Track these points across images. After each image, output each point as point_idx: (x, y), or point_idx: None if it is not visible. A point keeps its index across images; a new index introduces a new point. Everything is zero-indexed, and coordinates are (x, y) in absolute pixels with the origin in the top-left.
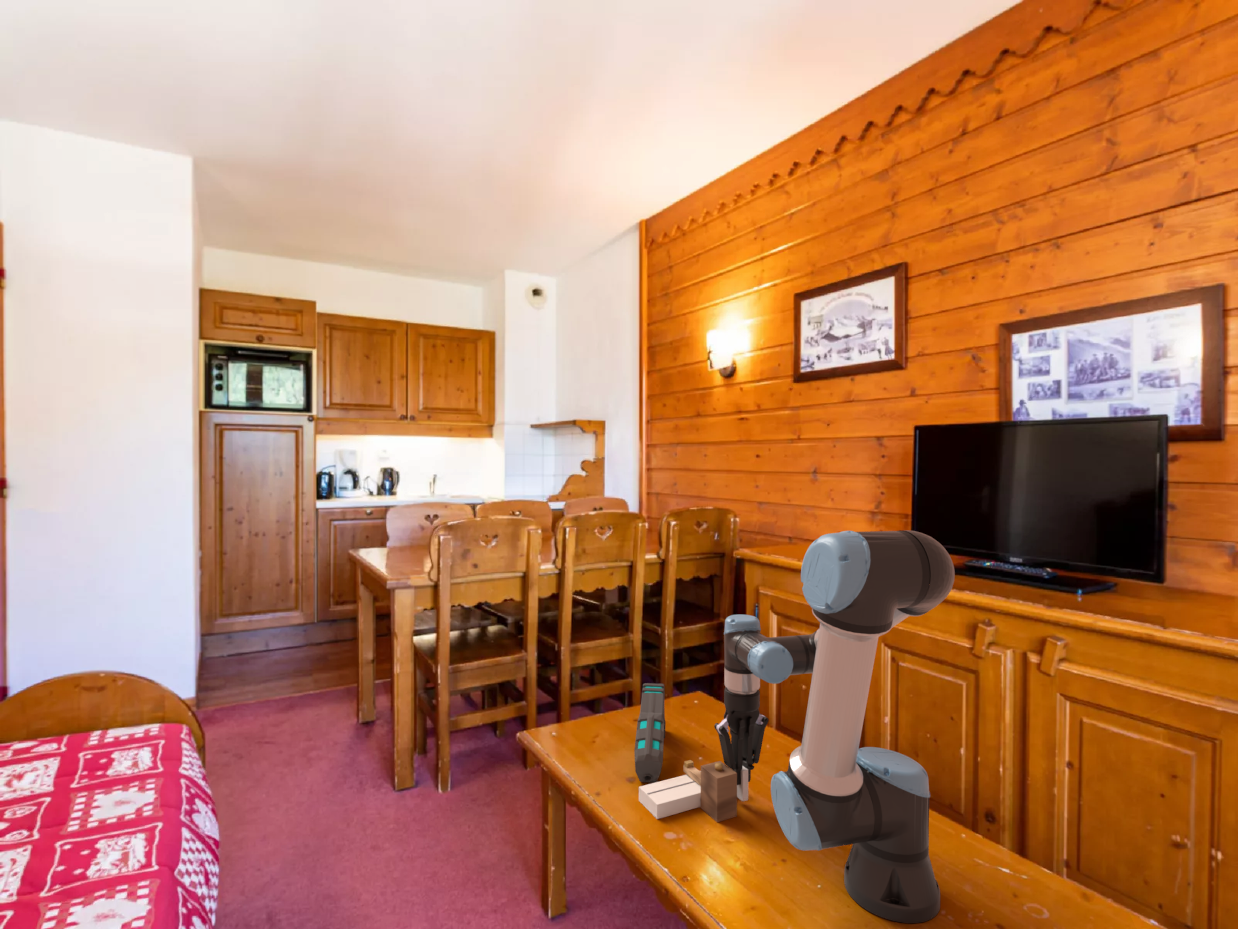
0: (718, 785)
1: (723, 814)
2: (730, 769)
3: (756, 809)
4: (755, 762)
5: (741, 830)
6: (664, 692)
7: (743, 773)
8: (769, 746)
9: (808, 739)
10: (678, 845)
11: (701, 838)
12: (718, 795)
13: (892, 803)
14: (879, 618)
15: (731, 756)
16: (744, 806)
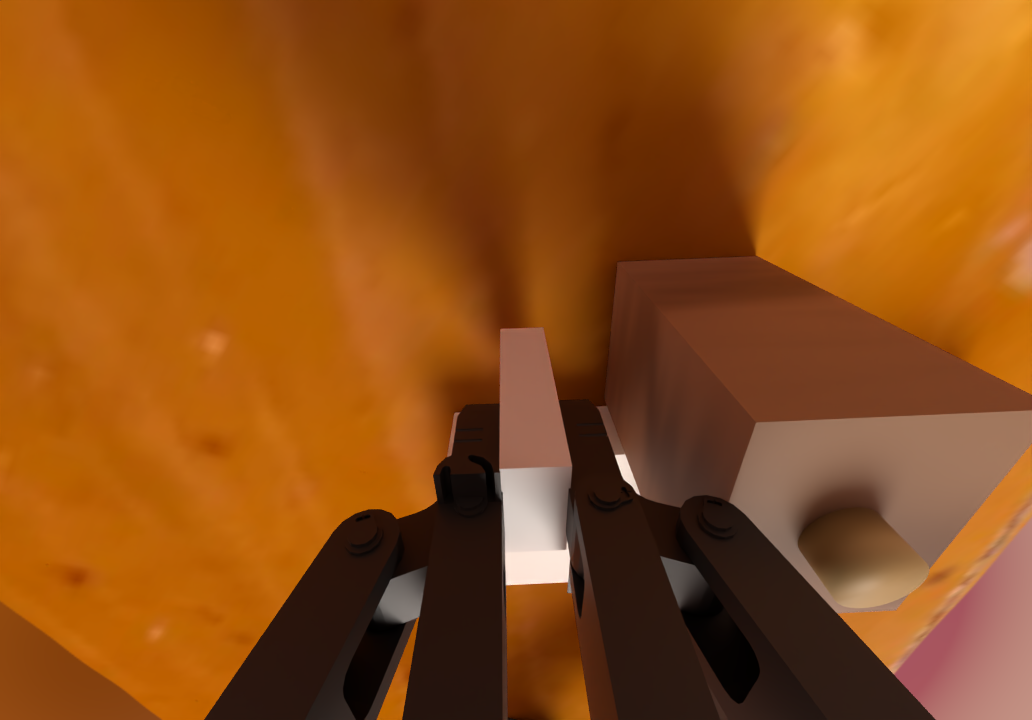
0: (947, 363)
1: (730, 267)
2: (743, 501)
3: (467, 275)
4: (386, 521)
5: (705, 111)
6: None
7: (558, 446)
8: (149, 629)
9: None
10: None
11: (968, 149)
12: (865, 320)
13: None
14: None
15: (835, 673)
16: (512, 325)
